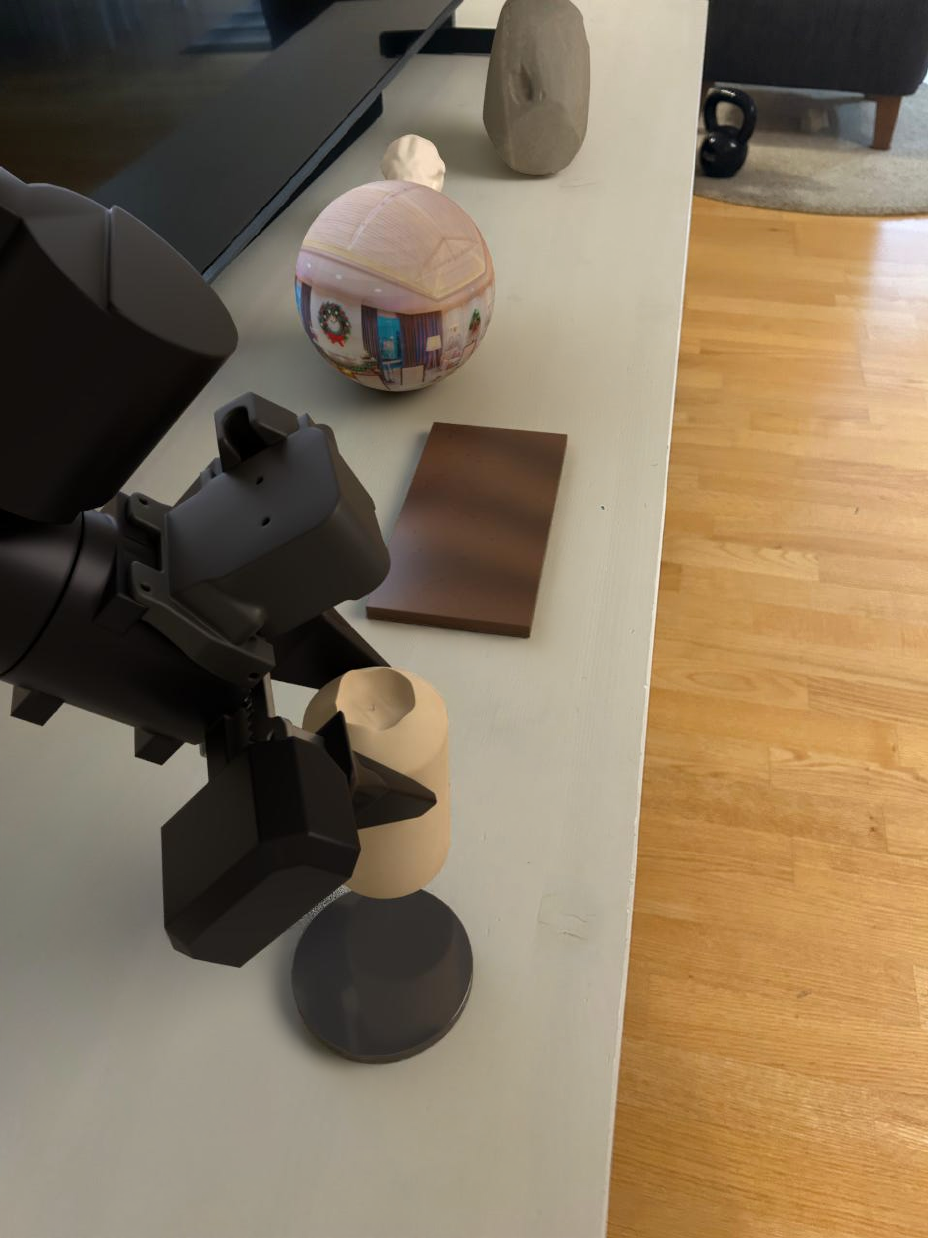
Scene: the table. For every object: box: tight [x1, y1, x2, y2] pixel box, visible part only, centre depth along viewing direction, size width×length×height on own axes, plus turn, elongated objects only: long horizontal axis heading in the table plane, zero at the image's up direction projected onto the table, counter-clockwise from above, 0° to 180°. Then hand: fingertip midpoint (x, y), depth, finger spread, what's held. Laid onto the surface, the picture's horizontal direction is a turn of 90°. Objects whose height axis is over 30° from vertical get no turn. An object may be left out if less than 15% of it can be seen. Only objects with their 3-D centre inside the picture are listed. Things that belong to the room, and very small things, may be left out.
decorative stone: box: [482, 0, 591, 176], centre depth 107 cm, size 12×17×15 cm
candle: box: [301, 667, 452, 899], centre depth 39 cm, size 6×6×10 cm
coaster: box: [290, 888, 474, 1064], centre depth 43 cm, size 8×8×1 cm
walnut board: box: [365, 421, 569, 639], centre depth 65 cm, size 20×10×1 cm, turn 169°
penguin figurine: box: [379, 133, 446, 193], centre depth 94 cm, size 6×8×12 cm
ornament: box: [294, 179, 496, 392], centre depth 74 cm, size 15×15×15 cm
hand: (413, 746), depth 38 cm, fingers closed on candle, 5 cm apart
